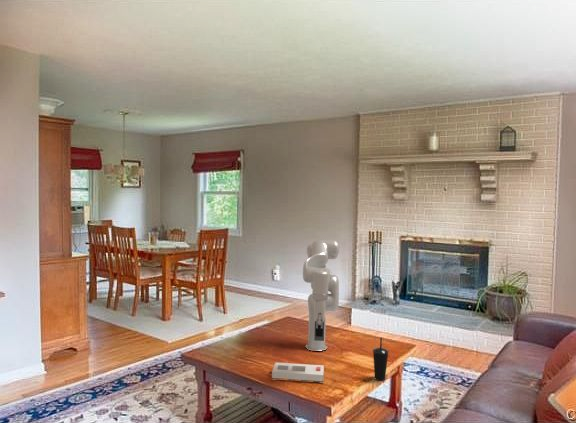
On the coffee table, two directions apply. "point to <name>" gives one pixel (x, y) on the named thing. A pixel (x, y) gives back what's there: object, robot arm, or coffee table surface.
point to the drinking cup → (380, 362)
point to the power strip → (298, 372)
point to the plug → (315, 332)
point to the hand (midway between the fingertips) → (319, 334)
